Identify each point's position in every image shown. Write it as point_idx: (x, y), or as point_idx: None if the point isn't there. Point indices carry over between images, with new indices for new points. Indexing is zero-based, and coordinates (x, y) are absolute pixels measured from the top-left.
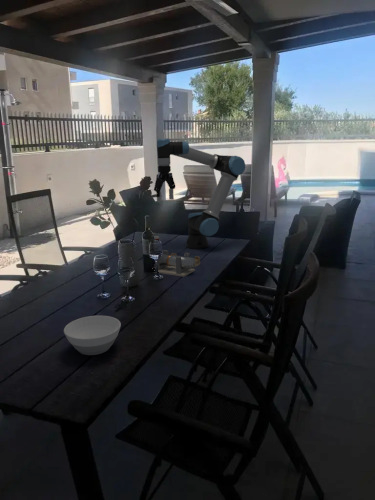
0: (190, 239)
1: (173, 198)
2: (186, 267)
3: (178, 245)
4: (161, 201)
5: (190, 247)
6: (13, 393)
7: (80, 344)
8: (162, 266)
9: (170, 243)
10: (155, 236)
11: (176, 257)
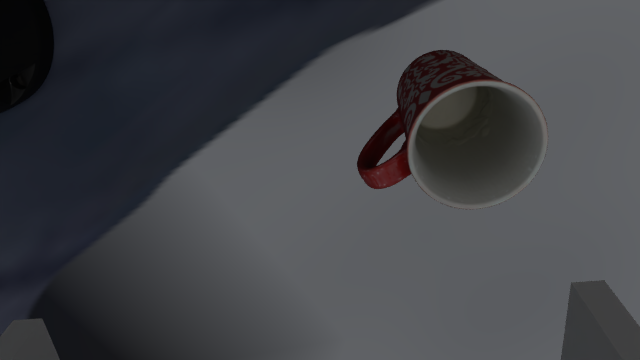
0: (1, 54)
1: (4, 336)
2: None
3: (51, 162)
4: (579, 297)
5: (48, 31)
6: None
7: None
8: None
9: (51, 238)
10: (412, 155)
11: None
